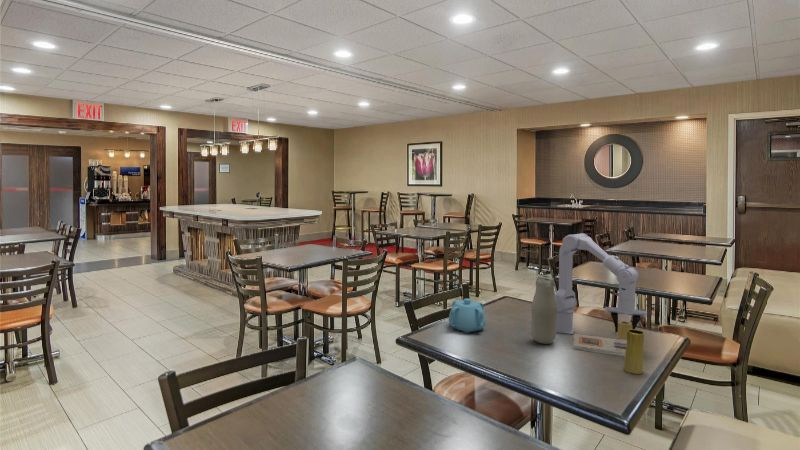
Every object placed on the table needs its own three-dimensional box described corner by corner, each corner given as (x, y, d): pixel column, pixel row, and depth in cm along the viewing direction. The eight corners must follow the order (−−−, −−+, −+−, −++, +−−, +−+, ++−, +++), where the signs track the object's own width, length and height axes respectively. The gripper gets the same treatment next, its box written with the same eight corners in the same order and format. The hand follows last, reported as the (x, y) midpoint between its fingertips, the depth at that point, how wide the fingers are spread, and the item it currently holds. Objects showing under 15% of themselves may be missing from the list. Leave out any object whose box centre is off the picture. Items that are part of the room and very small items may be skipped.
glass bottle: (556, 340, 187) (560, 274, 184) (554, 348, 178) (557, 279, 175) (532, 336, 191) (535, 272, 188) (528, 344, 182) (531, 277, 179)
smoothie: (627, 331, 199) (629, 301, 197) (633, 337, 192) (635, 305, 191) (612, 331, 199) (614, 300, 198) (617, 336, 193) (619, 304, 191)
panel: (573, 349, 178) (573, 345, 178) (574, 337, 191) (574, 333, 191) (642, 359, 169) (643, 355, 169) (639, 345, 182) (639, 342, 182)
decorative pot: (487, 325, 206) (488, 296, 205) (483, 336, 191) (483, 305, 190) (452, 321, 211) (453, 293, 210) (445, 332, 196) (446, 302, 195)
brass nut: (617, 338, 176) (618, 323, 175) (616, 334, 180) (617, 319, 180) (631, 340, 174) (632, 325, 173) (630, 336, 179) (631, 321, 178)
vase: (620, 367, 161) (622, 328, 160) (636, 366, 162) (638, 328, 160) (630, 374, 155) (632, 334, 154) (646, 374, 156) (649, 334, 154)
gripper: (606, 299, 175) (604, 332, 176) (648, 303, 169) (646, 338, 171) (605, 294, 181) (603, 327, 183) (646, 299, 176) (644, 332, 177)
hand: (624, 332), depth 177 cm, fingers closed on brass nut, 5 cm apart
